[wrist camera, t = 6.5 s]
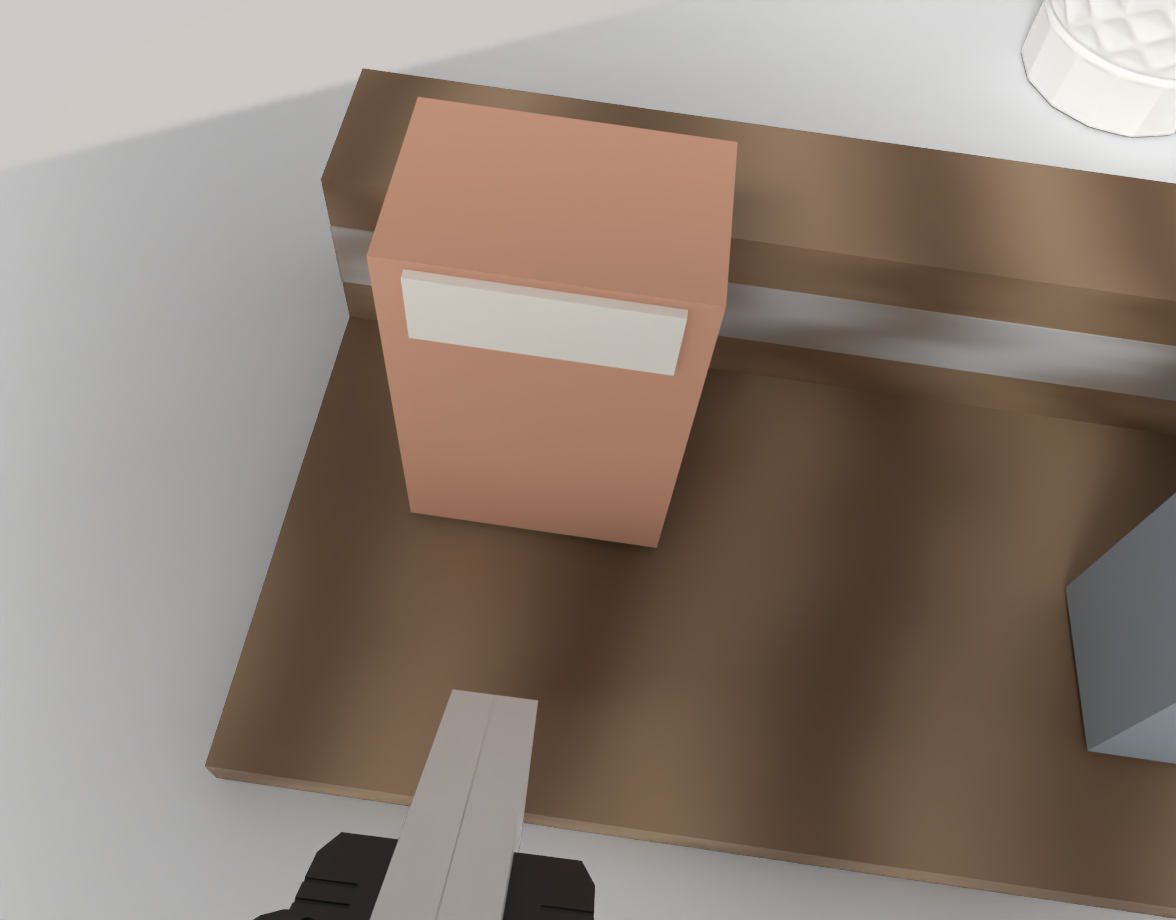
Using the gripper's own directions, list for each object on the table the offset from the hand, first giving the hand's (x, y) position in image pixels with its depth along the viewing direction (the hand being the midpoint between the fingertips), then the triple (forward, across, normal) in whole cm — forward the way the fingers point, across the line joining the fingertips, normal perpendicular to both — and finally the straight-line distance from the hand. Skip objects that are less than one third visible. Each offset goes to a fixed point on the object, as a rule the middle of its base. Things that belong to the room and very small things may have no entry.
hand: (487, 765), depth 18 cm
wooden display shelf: (+10, +8, +3) cm, 13 cm away
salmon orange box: (+9, 0, +3) cm, 9 cm away
